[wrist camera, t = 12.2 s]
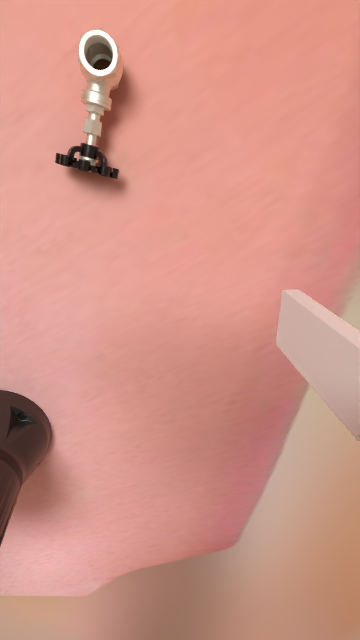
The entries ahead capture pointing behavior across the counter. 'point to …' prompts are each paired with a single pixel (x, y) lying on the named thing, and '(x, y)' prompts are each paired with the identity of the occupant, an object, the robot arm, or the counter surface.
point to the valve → (95, 100)
